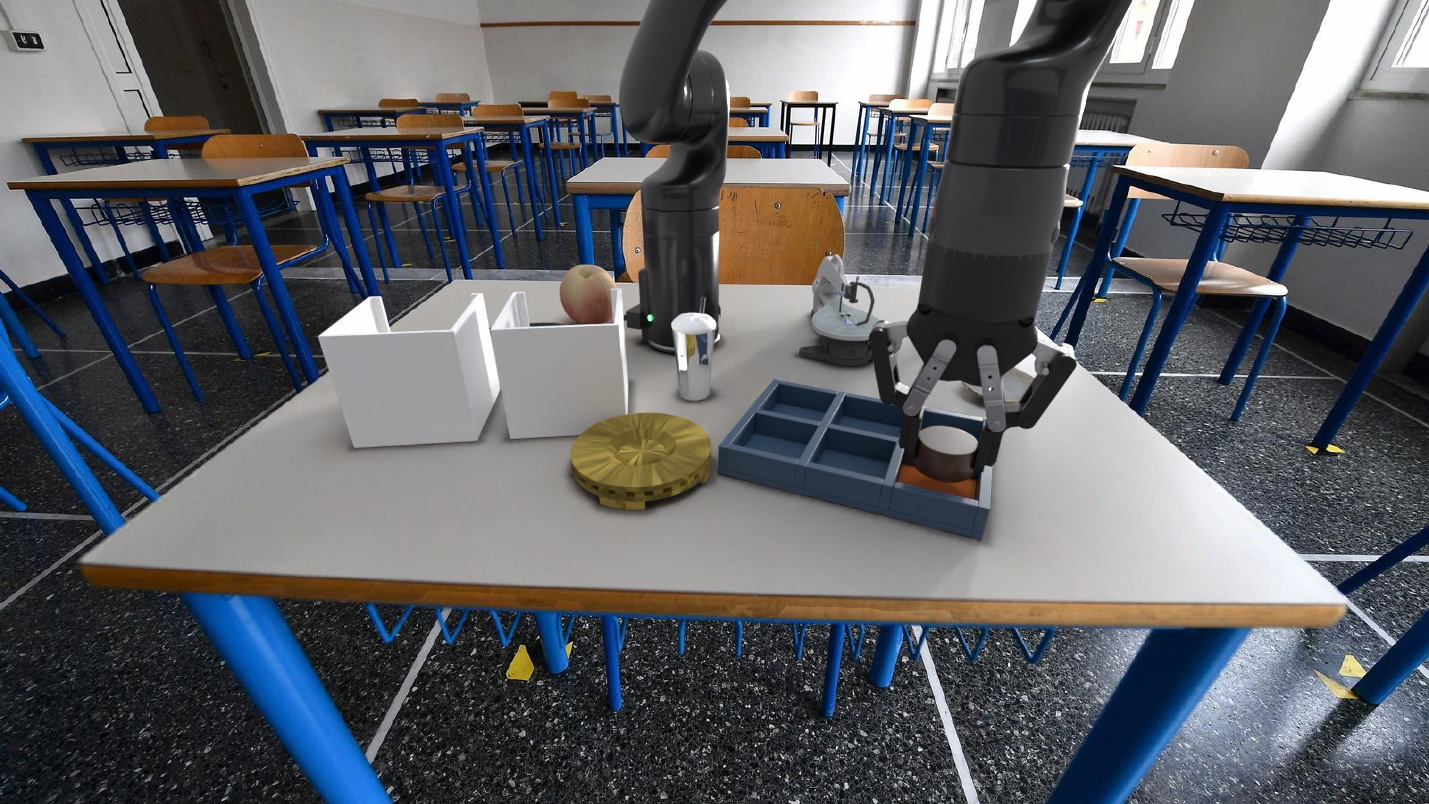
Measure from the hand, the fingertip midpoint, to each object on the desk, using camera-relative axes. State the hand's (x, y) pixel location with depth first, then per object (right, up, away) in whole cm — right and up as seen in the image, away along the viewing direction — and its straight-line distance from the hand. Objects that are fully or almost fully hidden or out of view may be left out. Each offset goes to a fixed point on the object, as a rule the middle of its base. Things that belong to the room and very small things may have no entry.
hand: (944, 458), depth 47 cm
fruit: (-35, +15, +38) cm, 54 cm away
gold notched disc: (-24, -1, +6) cm, 25 cm away
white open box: (-39, +3, +15) cm, 42 cm away
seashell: (+13, +5, +19) cm, 23 cm away
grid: (-5, -1, +7) cm, 9 cm away
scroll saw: (-2, +13, +33) cm, 35 cm away
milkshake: (-20, +5, +19) cm, 28 cm away
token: (0, -1, 0) cm, 1 cm away
